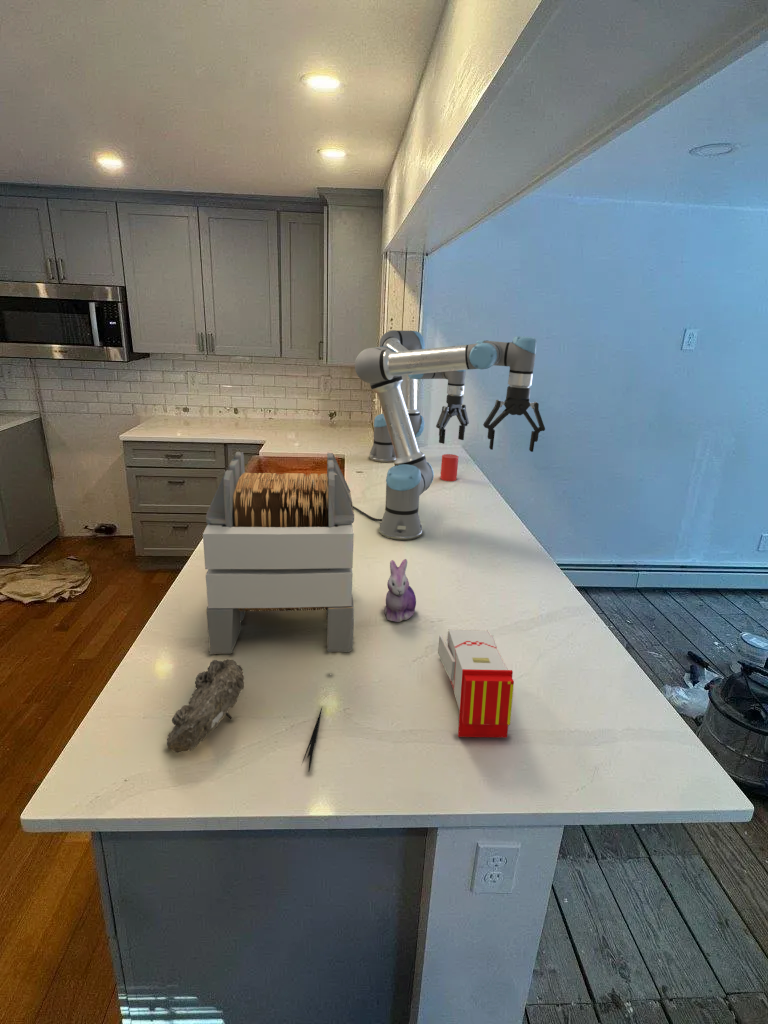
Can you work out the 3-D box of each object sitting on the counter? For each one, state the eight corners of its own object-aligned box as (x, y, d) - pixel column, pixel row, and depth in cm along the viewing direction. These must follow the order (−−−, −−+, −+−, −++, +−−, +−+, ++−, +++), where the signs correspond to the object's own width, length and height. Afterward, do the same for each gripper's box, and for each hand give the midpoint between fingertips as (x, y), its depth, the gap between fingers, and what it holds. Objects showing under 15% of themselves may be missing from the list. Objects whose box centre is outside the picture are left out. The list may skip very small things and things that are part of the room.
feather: (331, 679, 122) (336, 673, 122) (307, 777, 96) (313, 769, 95) (324, 675, 122) (329, 669, 121) (298, 772, 95) (304, 764, 95)
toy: (488, 613, 130) (523, 677, 101) (484, 667, 133) (517, 744, 104) (435, 612, 130) (455, 676, 101) (432, 666, 133) (451, 743, 103)
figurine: (392, 627, 141) (395, 572, 136) (374, 608, 149) (376, 556, 144) (425, 619, 145) (429, 566, 140) (405, 601, 154) (408, 550, 149)
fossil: (192, 660, 117) (244, 628, 112) (224, 691, 120) (276, 661, 115) (142, 746, 98) (202, 712, 93) (182, 779, 101) (242, 748, 96)
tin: (438, 479, 266) (439, 456, 262) (443, 475, 273) (445, 453, 269) (453, 482, 263) (455, 459, 259) (458, 478, 270) (460, 455, 266)
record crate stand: (229, 585, 158) (221, 442, 144) (346, 584, 161) (350, 444, 148) (206, 656, 126) (193, 481, 112) (353, 652, 130) (358, 483, 116)
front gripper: (554, 386, 188) (545, 449, 196) (479, 382, 188) (472, 445, 196) (560, 389, 181) (550, 454, 188) (482, 385, 181) (475, 450, 189)
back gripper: (443, 397, 244) (439, 446, 251) (479, 394, 260) (474, 439, 267) (430, 395, 249) (427, 443, 256) (466, 392, 265) (462, 436, 272)
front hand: (511, 449), depth 192 cm, fingers open, 13 cm apart
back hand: (451, 441), depth 262 cm, fingers open, 13 cm apart
